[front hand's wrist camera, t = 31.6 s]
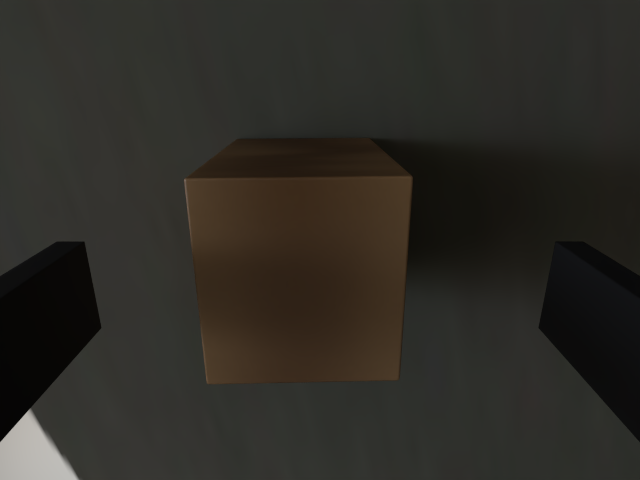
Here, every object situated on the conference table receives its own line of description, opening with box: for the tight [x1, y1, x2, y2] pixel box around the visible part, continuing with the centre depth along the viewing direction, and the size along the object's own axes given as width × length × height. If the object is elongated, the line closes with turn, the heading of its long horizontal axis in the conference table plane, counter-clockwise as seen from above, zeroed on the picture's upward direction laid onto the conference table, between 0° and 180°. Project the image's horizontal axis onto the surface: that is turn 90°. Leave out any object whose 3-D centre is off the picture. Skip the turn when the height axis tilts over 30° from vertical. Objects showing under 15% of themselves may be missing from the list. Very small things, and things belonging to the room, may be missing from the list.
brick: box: [184, 138, 413, 384], centre depth 17 cm, size 6×7×9 cm
